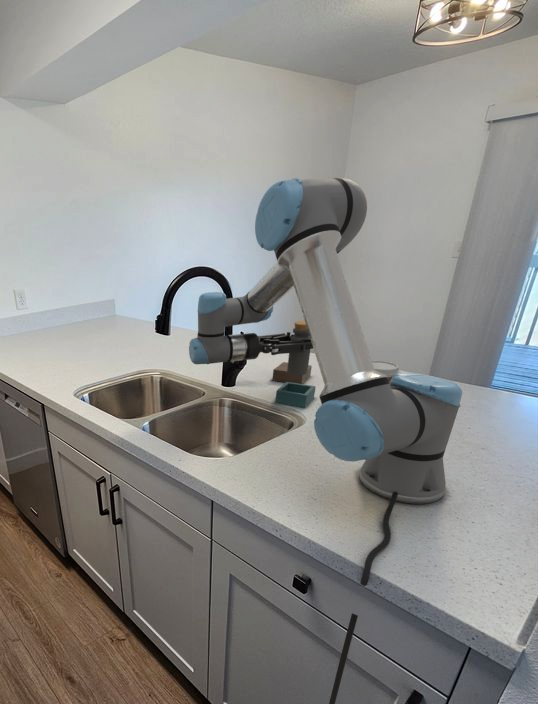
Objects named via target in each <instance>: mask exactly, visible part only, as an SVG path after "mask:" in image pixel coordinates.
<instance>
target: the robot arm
mask: <svg viewBox="0 0 538 704" xmlns="http://www.w3.org/2000/svg"><path fill="white" fill-rule="evenodd" d="M367 202H368V201H367V197H366V194H365V192H364V190H363V188H362V187H361V186H360V185H359V184H358V183H357V182H355V181H354V180H351V179H349V178H345V177H332V178H331V177H330V178H329V177H328V178H309V179H308V178H306V179H300V178H298V177H297V178H296V177H294V178H291V179H287V180H286V179H285V180H280V181H277V182H275V183H273V184H272V185H271V186H270V187H269V188H268V189H267V190H266V191H265V193H264V194H263V196H262V198H261V199H260V202H259V204H258V207H257V212H256V215H255V222H254V233H255V239H256V241H257V244H258V245H259V247H260V248H261V249H264V250H266V251H267V252H273V251H274V252H273V253H274V255H275V258H276V262H275V263H274V264H273V265H272V266H271V268H270V269H268V271H267V272H265V274H264V275H263V276H262V277H261V278H260V279H259V280H258V282H256V284H254V286H253V287H252V288H251V289H250V290H249V291H248V292H247V293H246V294H244V295H243V296H238V297H229V298H227V295H226V294H225V292H222V291H221V292H220V291H212V292H210V291H209V292H203V293H201V294H200V295H199V296H198V301H197V334H196V335H197V337H194V338H191V339H190V341H189V345H188V354H189V359H190V361H191V363H192V364H194V365H210V364H219V363H228V362H230V363H232V364H233V363H235V362H239V361H248V360H249V361H251V360H255V359H257V358H259V355H260V354H261V353H262V354H270V355H271V356H276V355H283V354H289V353H297V352H301V353H303V352H304V350H305V349H310V350H312V349H313V352H314V355H315V358H316V361H317V364H318V367H319V370H320V374H321V377H322V381H323V382H324V386H323V388H322V391H321V392H320V394H319V400H320V404H321V405H320V406H319V407H318V408H317V410H316V412H315V415H314V417H315V419H313V427H314V432H315V434H316V437H317V439H318V441H319V443H320V445H322V447H323V448H324V449H325V450H326V451H327V452H328V453H329V454H330V455H333V456H334V458H337V459H338V460H341V461H344V462H350V463H351V462H359V461H364V462H363V464H362V465H361V467H360V472H359V480H360V482H361V483H362V485H363V486H364V487H365V488H366V489H368V491H371V492H372V493H374V494H376V495H377V496H380V497H382V498H385V499H388V500H389V502H388V504H387V507H386V510H385V512H384V516H383V522H382V525H383V527H382V528H383V532H384V537H383V540H382V541H381V542H380V543H379V544H378V545H376V546H375V547H374V548H373V549H371V550H370V551H369V553H368V555H367V556H366V558H365V562H364V567H363V572H362V576H361V578H360V582H359V584H360V585H361V586H364V587H365V586H367V585H368V582H369V578H370V574H371V570H372V565H373V561H374V559H375V557H376V556H377V555H378V553H380V552H381V551H382V550H384V549H385V548H386V547H387V546H388V545H389V544H390V541H391V538H392V537H391V535H392V534H391V529H390V528H391V527H390V518H391V515H392V512H393V510H394V507H395V505H396V502H399V503H404V504H414V505H415V504H416V505H421V504H423V505H424V504H431V503H434V502H437V501H439V500H441V498H442V497H443V496H444V493H445V490H446V485H447V484H446V483H447V482H446V474H445V465H444V456H445V452H446V449H447V446H448V443H449V439H450V437H451V433H452V431H453V427H454V425H455V421H456V418H457V416H458V411H459V408H461V400H462V397H463V396H462V395H463V390H462V387H461V386H460V385H458V384H457V383H456V382H453V381H451V380H449V379H445V378H442V377H438V376H434V375H429V374H424V373H416V372H399V373H397V374H395V375H393V376H392V379H391V381H390V382H389V381H388V378H387V375H385V374H382V373H380V372H378V371H376V370H375V369H374V366H373V363H372V361H373V360H372V357H371V354H370V351H369V348H368V345H367V341H366V338H365V335H364V333H363V329H362V326H361V324H360V321H359V317H358V314H357V311H356V308H355V304H354V300H353V298H352V296H351V292H350V289H349V286H348V283H347V279H346V277H345V273H344V271H343V270H344V269H343V267H342V265H341V261H340V257H339V255H338V254H340V253H341V251H343V250H344V249H345V248H347V246H349V244H351V242H352V241H353V240H354V239H355V238H356V237H357V235H358V233H360V231H361V230H362V228H363V225H364V224H365V220H366V218H367V212H368V203H367ZM293 288H294V290H295V293H296V297H297V300H298V303H299V306H300V310H301V313H302V316H303V319H304V320H303V321H305V323H306V326H307V329H308V332H309V336H310V339H304V340H302V341H291V337H292V336H294V335H295V333H293V334H291V332H290V331H286V333H284V332H283V333H276V334H266V335H258V334H257V333H255V332H249V333H248V332H247V333H237V334H228V335H227V334H226V333H225V331H226V328H227V327H234V326H241V325H247V324H257V323H258V324H259V323H260V322H264V321H267V320H268V319H270V318H271V317H272V313H273V312H274V306H275V305H276V304H277V303H278V302H279V301H280V300H281V299H283V298H284V297H285V296H286V295H287V294H288V293H289V292H291V290H292V289H293ZM225 334H226V335H225ZM389 383H390V384H389ZM358 618H359V615H358V614H355V613H353V612H352V613H351V614H350V620H349V622H348V627H347V629H346V634H345V637H344V638H345V639H344V641H343V646H342V650H341V653H340V658H339V662H338V665H337V669H336V674H335V677H334V682H333V685H332V690H331V694H330V697H329V702H328V704H336V701H337V699H338V698H337V697H338V693H339V689H340V686H341V682H342V678H343V675H344V671H345V667H346V664H347V663H346V662H347V658H348V655H349V652H350V651H349V650H350V647H351V643H352V640H353V637H354V632H355V628H356V625H357V621H358Z"/></svg>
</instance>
